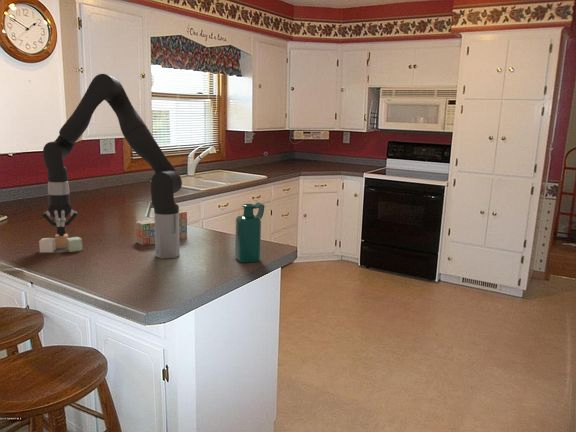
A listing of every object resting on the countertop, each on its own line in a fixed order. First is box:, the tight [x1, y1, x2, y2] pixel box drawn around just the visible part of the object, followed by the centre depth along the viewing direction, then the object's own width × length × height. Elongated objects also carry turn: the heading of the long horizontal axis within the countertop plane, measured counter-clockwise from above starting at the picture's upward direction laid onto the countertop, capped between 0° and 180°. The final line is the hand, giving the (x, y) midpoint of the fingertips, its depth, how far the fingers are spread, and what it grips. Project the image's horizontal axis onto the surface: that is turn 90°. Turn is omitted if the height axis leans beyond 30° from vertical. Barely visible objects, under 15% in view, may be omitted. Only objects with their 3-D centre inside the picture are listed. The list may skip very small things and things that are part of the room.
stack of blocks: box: [135, 209, 188, 246], centre depth 206 cm, size 21×6×12 cm, turn 133°
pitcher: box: [234, 202, 265, 264], centre depth 182 cm, size 10×8×22 cm
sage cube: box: [66, 236, 83, 253], centre depth 186 cm, size 4×4×4 cm
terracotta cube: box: [54, 233, 70, 248], centre depth 190 cm, size 4×4×4 cm
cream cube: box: [38, 237, 56, 252], centre depth 183 cm, size 4×4×4 cm
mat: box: [38, 243, 84, 254], centre depth 187 cm, size 11×15×1 cm
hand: (61, 235), depth 189 cm, fingers closed
